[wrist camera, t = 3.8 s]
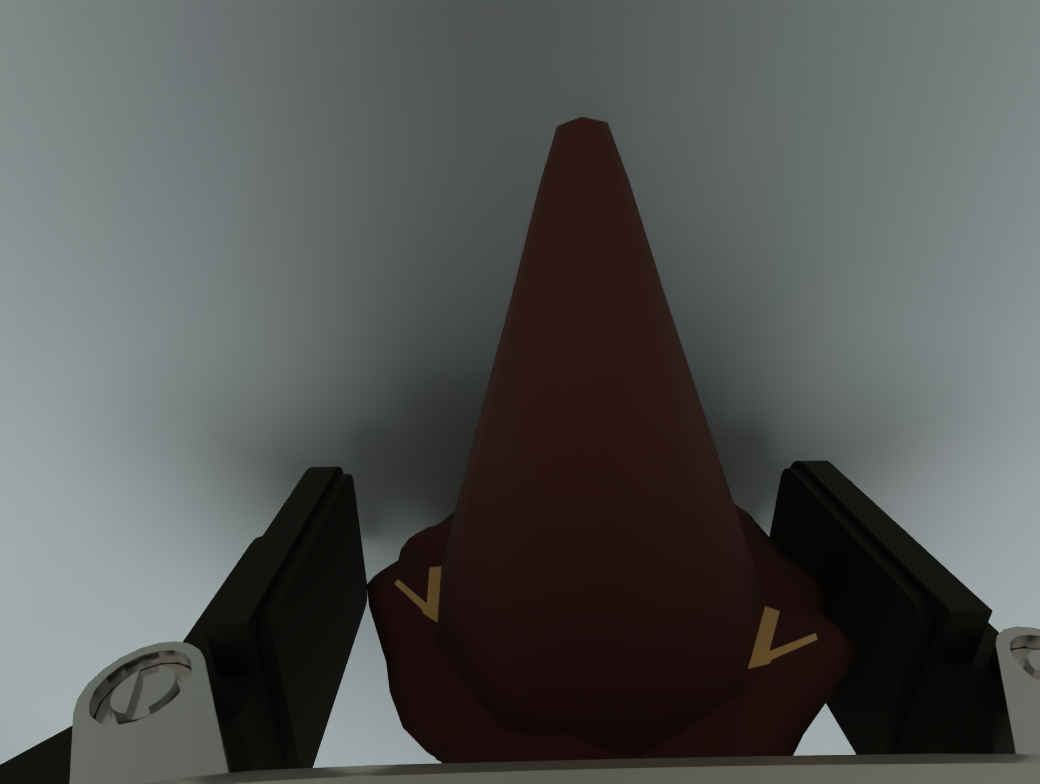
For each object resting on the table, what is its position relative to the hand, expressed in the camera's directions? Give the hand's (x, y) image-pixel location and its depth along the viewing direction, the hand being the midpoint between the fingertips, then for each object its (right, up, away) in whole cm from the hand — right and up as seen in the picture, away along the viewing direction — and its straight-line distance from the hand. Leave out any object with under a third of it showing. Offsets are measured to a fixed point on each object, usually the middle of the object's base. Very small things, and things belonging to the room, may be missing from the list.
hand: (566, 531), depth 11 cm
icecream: (0, 0, +2) cm, 2 cm away
